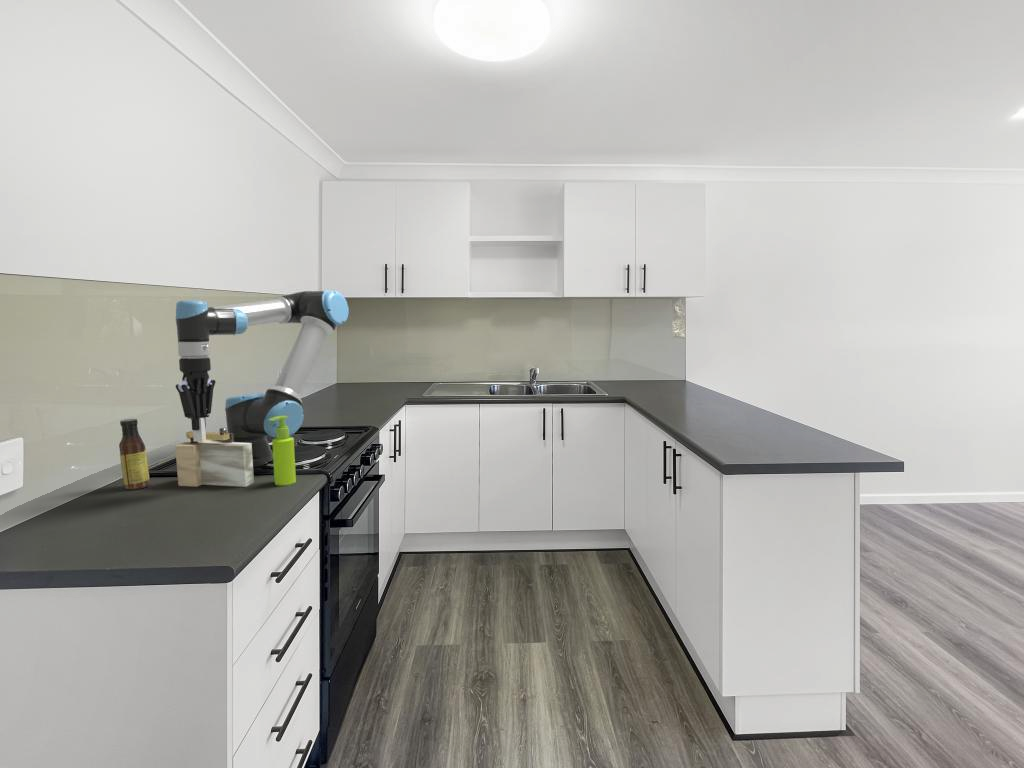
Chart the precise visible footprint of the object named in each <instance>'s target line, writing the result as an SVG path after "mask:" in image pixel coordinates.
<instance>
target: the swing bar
mask: <svg viewBox="0 0 1024 768" xmlns="http://www.w3.org/2000/svg"><path fill="white" fill-rule="evenodd" d="M205 433H206V440H213V441H222V440H227V439H230V437H229V433H227V427H221V428H219V432H218V431H217V432H216V431H205ZM185 437H186V439H192V438H193V430H190V431H186V432H185Z"/></svg>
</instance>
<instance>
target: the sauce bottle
mask: <svg viewBox="0 0 1024 768" xmlns="http://www.w3.org/2000/svg"><path fill="white" fill-rule="evenodd" d="M119 424H120V426H121V431H122V433H121V435H122V437H121V440H120V441H119V444H118V446H119V447H118V448H119V459H120V465H121V472H122V479H123V485H124V488H125V489H126V490H130V491H133V490H139V489H140V490H141V489H144V488H146V487H149V486H150V473H149V471H150V470H149V465H148V464H149V463H148V456H147V448H146V444H145V443H144V441H143V439H142V438H141V436H140V433H139V430H138V424H139V421H138V419H137V418H125V419H122V420H120V421H119Z"/></svg>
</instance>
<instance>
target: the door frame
mask: <svg viewBox="0 0 1024 768" xmlns="http://www.w3.org/2000/svg"><path fill="white" fill-rule="evenodd" d="M229 437H230V439H227V440H221V441H214V440H209V439H206V441H203V442H197V441H194V439H193V438H192V439H190V438H189V439H190V440H188V441H185V442H182V443H179V444H175V446H174V448H175V458H176V470H177V471H176V472H177V482H178V486H179V487H194V488H195V487H199V486H202V485H203V486H223V487H248V486H250V485H252V484H254V483H255V479H254V478H255V477H254V476H255V475H254V467H253V459H252V443H238V442H234V436H233V433H229Z"/></svg>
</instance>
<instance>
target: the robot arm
mask: <svg viewBox="0 0 1024 768" xmlns="http://www.w3.org/2000/svg"><path fill="white" fill-rule="evenodd" d="M349 311H350V310H349V305H348V302H347V299H346V298H345V296H344V295H343V294H342V293H340V292H339V291H336V290H329V289H326V290H310V291H309V290H306V291H299V292H295V293H294V292H293V293H291V294H285V295H277V296H275V297H274V298H272V299H270V300H269V299H267V300H260V301H252V302H251V301H249V302H244V303H243V302H242V303H234V304H226V305H225V304H224V305H215V306H209V307H208V303H207V301H204V300H180V301H177V302H176V303H175V323H176V325H175V326H176V332H177V351H178V356H179V357H180V358H179V360H178V361H179V363H178V366H179V367H178V368H179V371H180V372H181V373H182V377H181V378H182V379H181V380H182V381H181V382H180V383H179V384H178V383H177V384H175V389H176V390H177V392H178V396H179V398H180V403H181V408H182V410H183V415H184V418H187V419H190V420H191V431H193V439H194V441H197V442H203V441H206V440H207V439H206V433H205V432H206V426H207V422H206V421H207V420H206V418H210V415H211V413H212V407H213V397H214V396H213V395H214V388H215V385H216V379H211V378H210V375H209V373H208V372H209V371H211V370H212V368H211V367H212V366H211V365H212V364H211V358H210V357H208V356H210V354H211V353H210V351H211V350H210V336H214V335H215V336H220V335H221V336H228V335H230V336H231V335H232V336H236V335H243V334H244V333H246V332H247V330H248V327H251V326H257V325H264V324H272V323H279V324H301V325H302V326H301V328H300V331H299V332H298V334H297V336H296V339H295V341H294V343H293V345H292V347H291V349H290V352H289V354H288V356H287V358H286V360H285V363H284V365H283V366H282V369H281V371H280V373H279V376H278V378H277V379H276V382H275V384H274V386H273V387H269V388H267V389H266V390H265V393H263V392H256V393H249V394H248V393H247V394H242V395H241V394H240V395H234V396H229V397H227V398H226V399H225V408H224V411H225V418H226V420H225V421H226V430H227V433H233V436H234V442H238V443H252V459H253V468H257V467H261V466H262V467H263V466H265V465H266V464H265V463H266V462H269V461H271V460H272V459H273V450H272V449H271V448H272V447H271V446H270V444H269V441H268V439H267V437H268V436H270V437H273V438H277V435H276V428H277V427H278V426H279V420H276V421H269V419H271V418H273V417H276V416H288V418H286V419H285V426H287V427H289V437H290V436H292V435H294V434H295V433H296V432H298V431H299V429H300V428H301V426H302V424H303V422H304V417H305V415H304V410H303V407H302V405H303V400H302V399H301V395H302V393H303V392H304V391H303V390H304V389H305V386H306V383H307V382H308V380H309V378H310V375H311V373H312V371H313V368H314V366H315V364H316V362H317V359H318V357H319V355H320V352H321V350H322V348H323V345H324V343H325V342H326V339H327V337H328V336H331V335H333V334H334V332H335V330H336V327H337V326H339V325H343V324H345V323H346V322H347V319H348V317H349ZM264 464H265V465H264Z"/></svg>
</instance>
